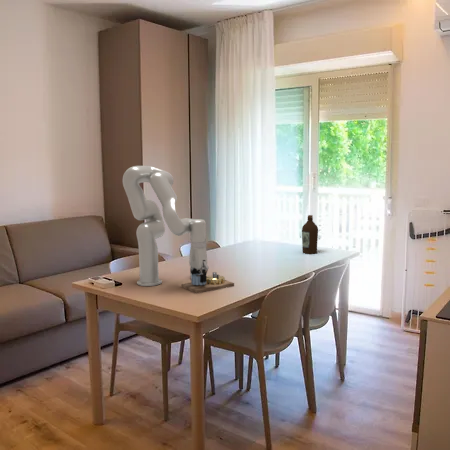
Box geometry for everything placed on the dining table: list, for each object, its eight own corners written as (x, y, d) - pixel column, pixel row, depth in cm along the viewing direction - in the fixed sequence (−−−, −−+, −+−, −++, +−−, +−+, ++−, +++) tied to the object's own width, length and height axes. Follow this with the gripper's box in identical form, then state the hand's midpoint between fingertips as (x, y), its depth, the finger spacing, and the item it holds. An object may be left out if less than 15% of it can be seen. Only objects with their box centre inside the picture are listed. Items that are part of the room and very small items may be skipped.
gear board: (181, 287, 242) (181, 274, 241) (218, 280, 254) (218, 268, 253) (195, 293, 230) (195, 280, 229) (234, 286, 242) (234, 273, 241)
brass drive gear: (201, 281, 245) (201, 272, 244) (217, 279, 251) (217, 269, 250) (211, 286, 237) (211, 276, 236) (228, 282, 242) (228, 273, 242)
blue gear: (188, 282, 240) (188, 274, 239) (201, 280, 244) (201, 272, 243) (196, 286, 234) (196, 278, 233) (209, 283, 238) (209, 275, 237)
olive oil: (310, 250, 330) (310, 214, 326) (321, 253, 321) (321, 215, 317) (298, 252, 324) (298, 215, 321) (309, 255, 315) (309, 216, 312)
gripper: (182, 243, 241) (183, 277, 244) (201, 248, 227) (201, 285, 229) (196, 241, 245) (196, 275, 248) (214, 246, 231) (215, 282, 233)
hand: (199, 280), depth 238 cm, fingers closed on blue gear, 7 cm apart
